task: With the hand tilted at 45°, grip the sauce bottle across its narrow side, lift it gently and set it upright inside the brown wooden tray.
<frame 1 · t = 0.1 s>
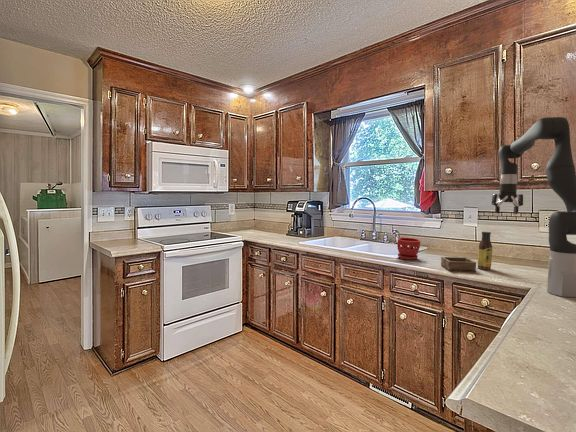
hand: (506, 213, 173), 29 cm above the worktop, tool pointing down, fingers open, 8 cm apart
brown wooden tray: (457, 268, 172), on the worktop
sauce bottle: (484, 269, 172), on the worktop
plant pot: (408, 258, 199), on the worktop
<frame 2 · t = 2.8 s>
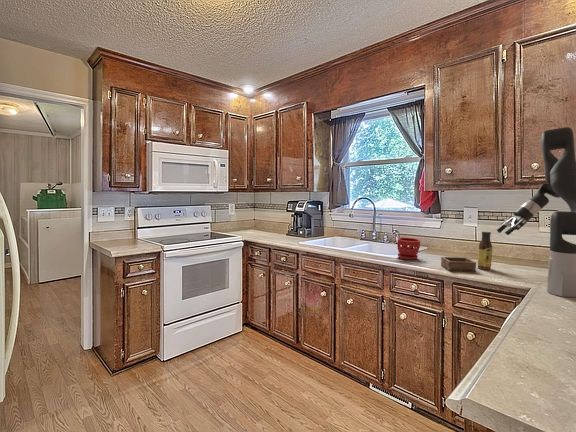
hand: (501, 232, 170), 19 cm above the worktop, tool tilted 45°, fingers open, 8 cm apart
nothing on the worktop moved.
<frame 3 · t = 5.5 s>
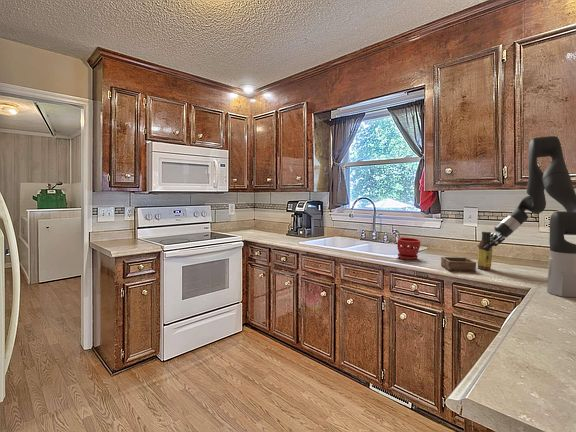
hand: (481, 248, 172), 11 cm above the worktop, tool tilted 45°, fingers closed on sauce bottle, 6 cm apart
sauce bottle: (484, 269, 172), on the worktop, touching gripper
everything else where it was.
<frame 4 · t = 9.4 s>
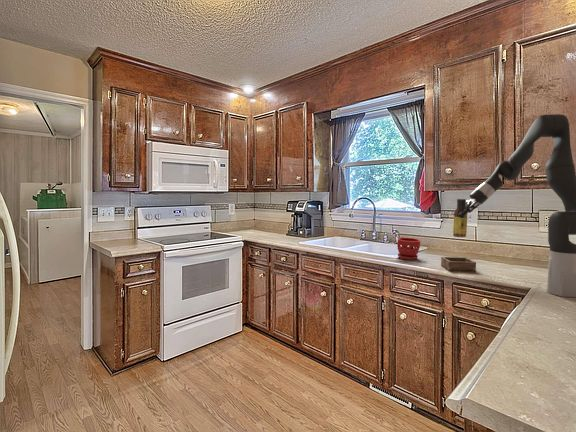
hand: (457, 216, 170), 28 cm above the worktop, tool tilted 45°, fingers closed on sauce bottle, 6 cm apart
sauce bottle: (459, 237, 171), point 17 cm above the worktop, touching gripper
everything else where it was.
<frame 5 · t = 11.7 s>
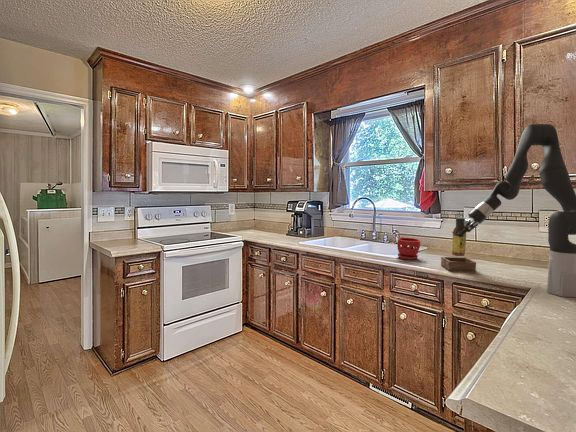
hand: (455, 234, 171), 18 cm above the worktop, tool tilted 45°, fingers closed on sauce bottle, 6 cm apart
sauce bottle: (458, 255, 172), point 7 cm above the worktop, touching gripper
everything else where it was.
when the fingers open (13 cm above the worktop, at t = 13.6 s): sauce bottle drops 1 cm, resting on brown wooden tray.
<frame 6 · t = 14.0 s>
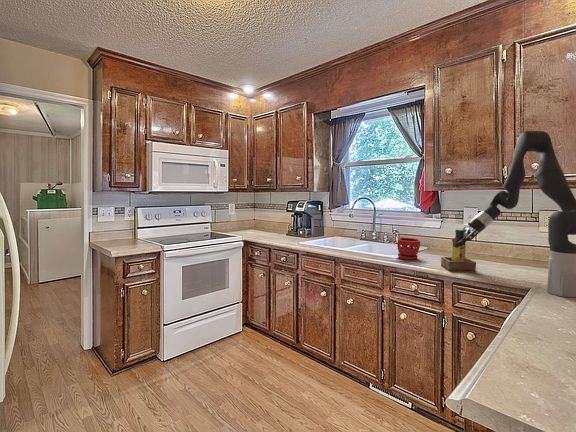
hand: (456, 243, 171), 14 cm above the worktop, tool tilted 45°, fingers open, 8 cm apart
sauce bottle: (458, 267, 172), point 1 cm above the worktop, touching brown wooden tray
everything else where it was.
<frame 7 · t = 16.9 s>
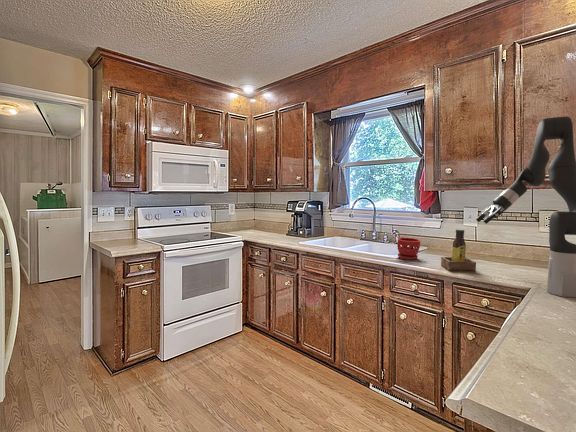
hand: (480, 221, 169), 25 cm above the worktop, tool tilted 45°, fingers open, 8 cm apart
nothing on the worktop moved.
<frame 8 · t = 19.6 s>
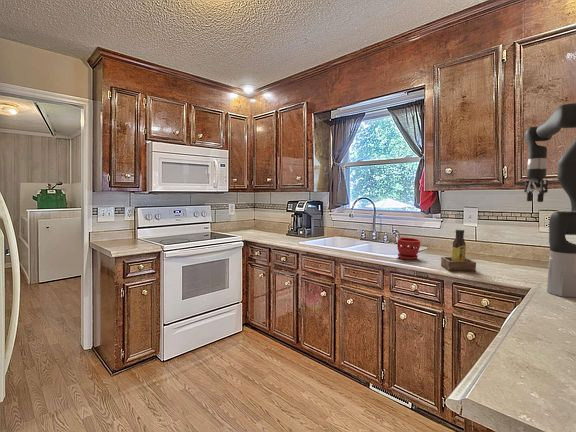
hand: (534, 201, 159), 36 cm above the worktop, tool pointing down, fingers open, 8 cm apart
nothing on the worktop moved.
at the end: sauce bottle inside the target area on the brown wooden tray (0.2 cm from its centre), point 0.8 cm above the brown wooden tray's base; sauce bottle tilted 0°; the gripper is holding nothing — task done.
